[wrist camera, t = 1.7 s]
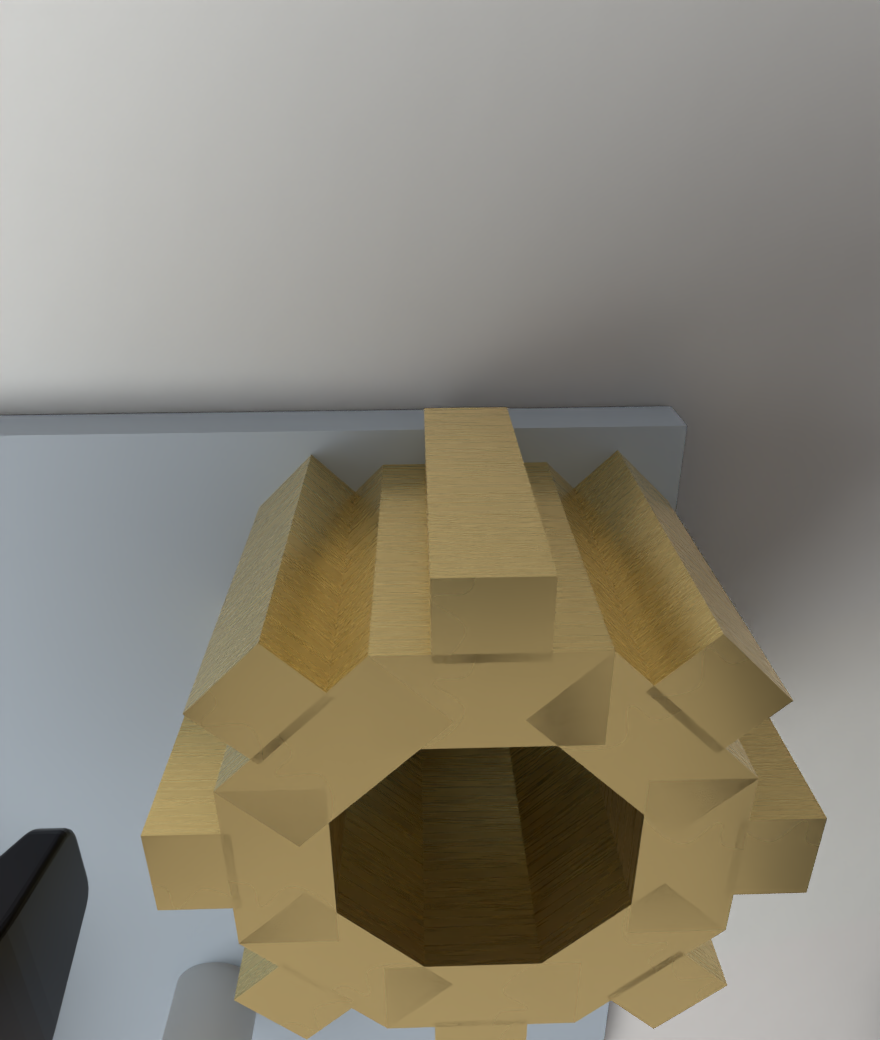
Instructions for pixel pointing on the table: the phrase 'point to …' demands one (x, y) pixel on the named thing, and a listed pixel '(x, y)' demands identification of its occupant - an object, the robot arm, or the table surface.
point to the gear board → (182, 660)
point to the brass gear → (477, 750)
